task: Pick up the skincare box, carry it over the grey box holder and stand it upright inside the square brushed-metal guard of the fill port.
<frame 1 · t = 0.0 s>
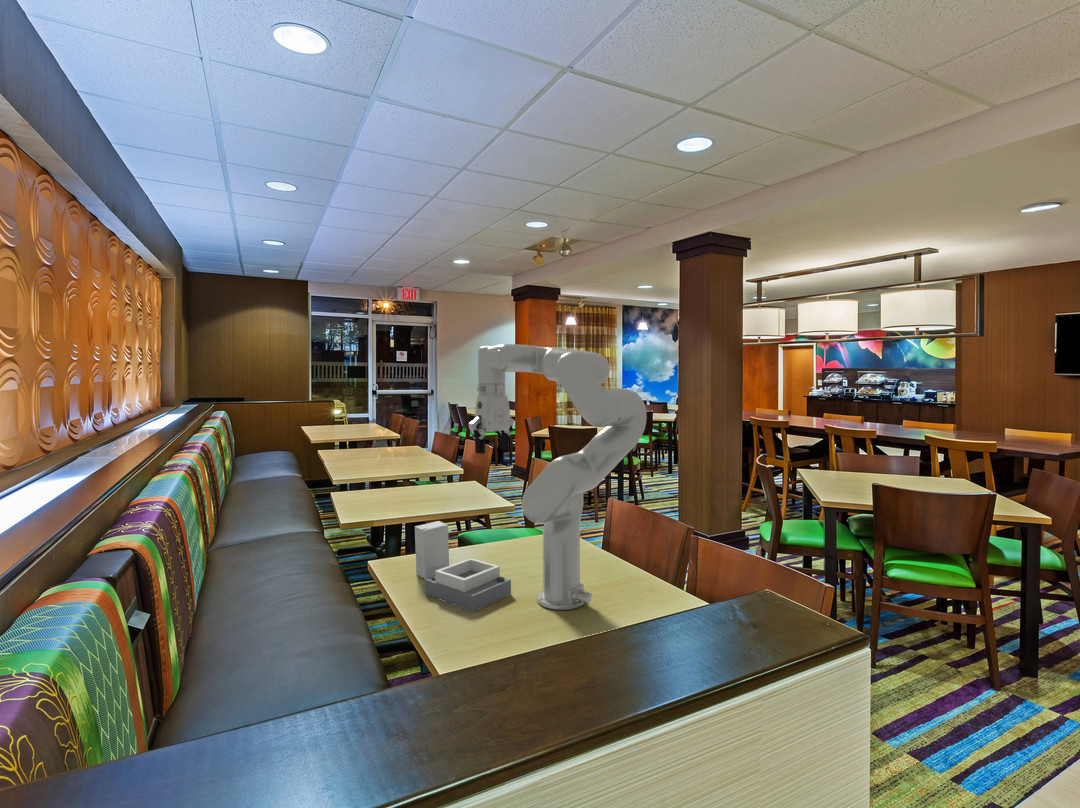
hand: (492, 451, 158), 37 cm above the table, tool pointing down, fingers open, 9 cm apart
grey box holder: (468, 594, 149), on the table
skincare box: (432, 575, 164), on the table
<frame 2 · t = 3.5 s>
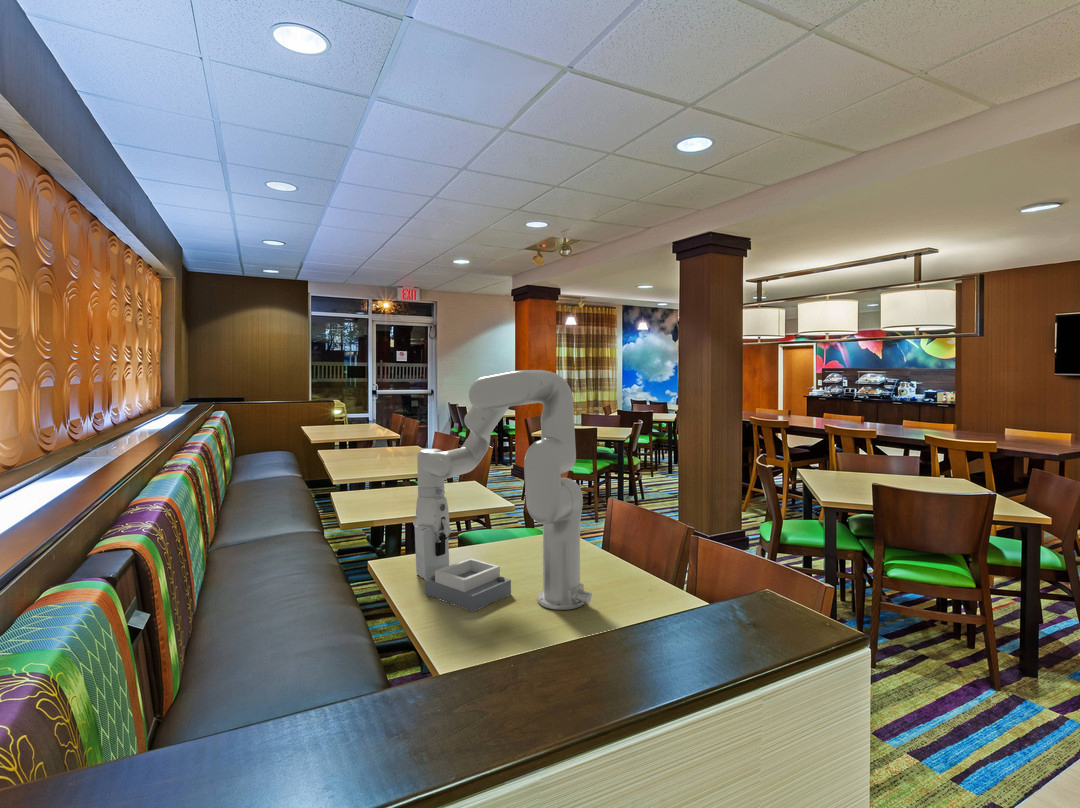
hand: (432, 552, 164), 7 cm above the table, tool pointing down, fingers closed on skincare box, 6 cm apart
skincare box: (432, 575, 164), on the table, touching gripper
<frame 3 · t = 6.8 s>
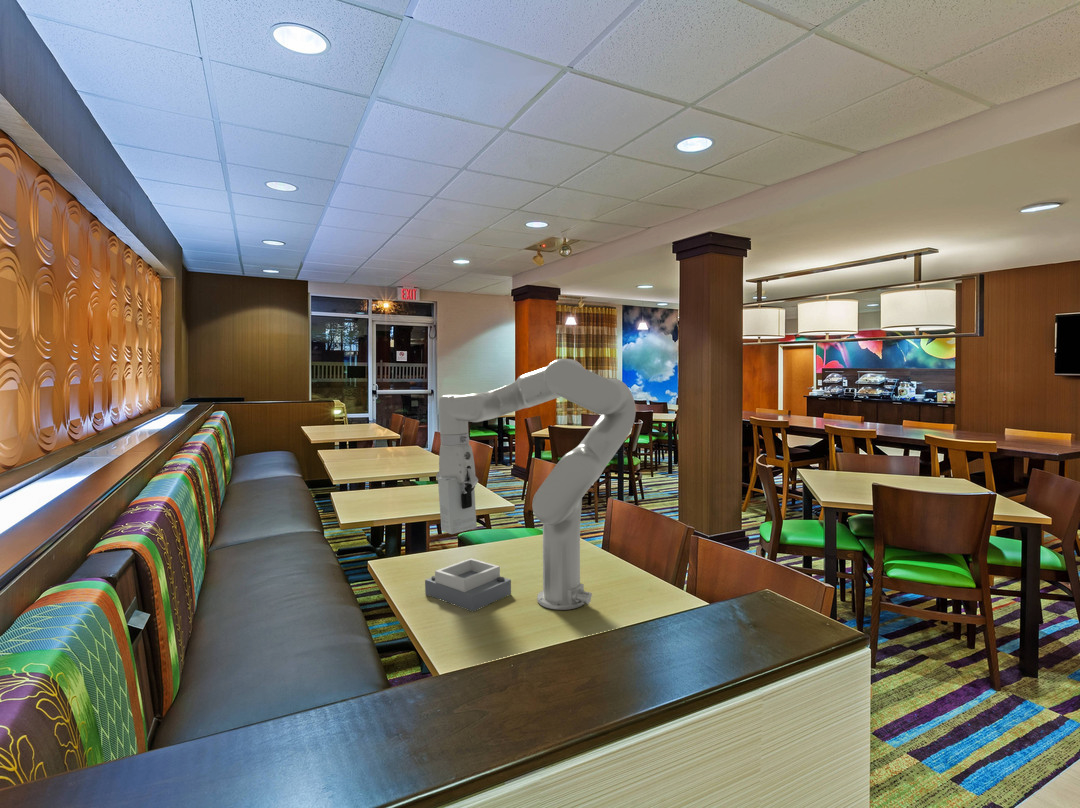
hand: (457, 505, 152), 23 cm above the table, tool pointing down, fingers closed on skincare box, 6 cm apart
skincare box: (458, 530, 153), point 16 cm above the table, touching gripper
when the fingers open (12 cm above the table, at t = 9.9 s): skincare box drops 1 cm, resting on grey box holder.
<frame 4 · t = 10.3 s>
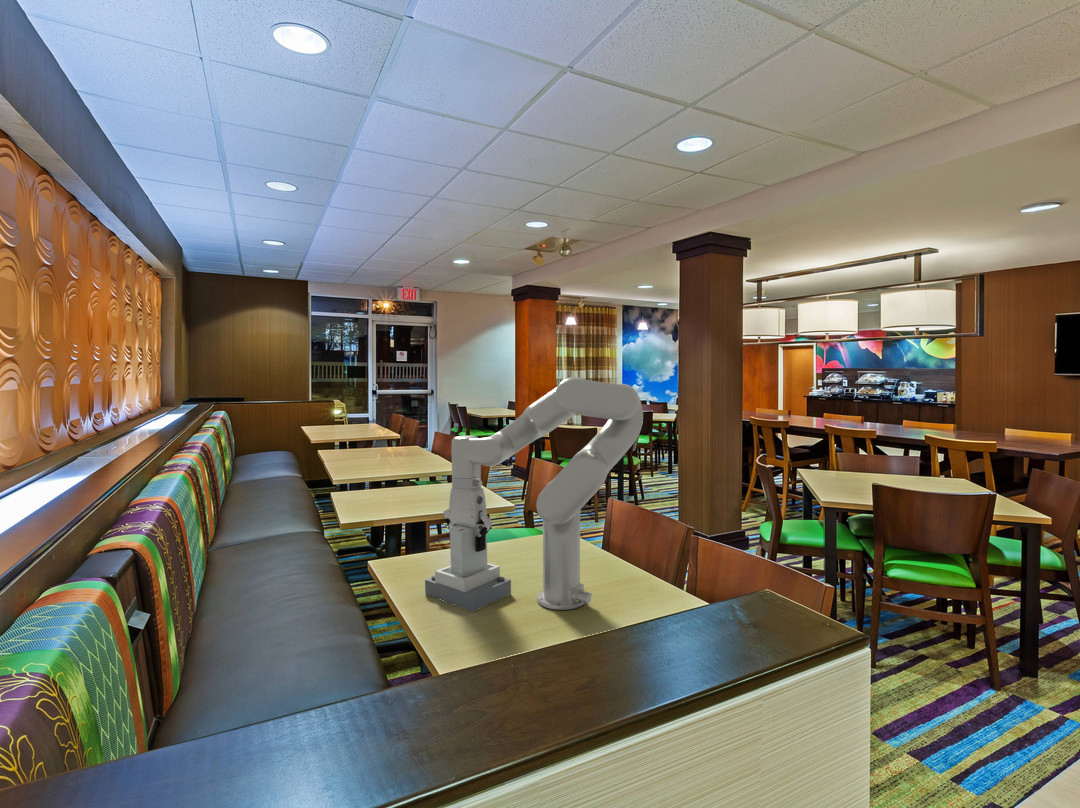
hand: (467, 547, 149), 13 cm above the table, tool pointing down, fingers open, 9 cm apart
skincare box: (469, 580, 149), point 4 cm above the table, touching grey box holder
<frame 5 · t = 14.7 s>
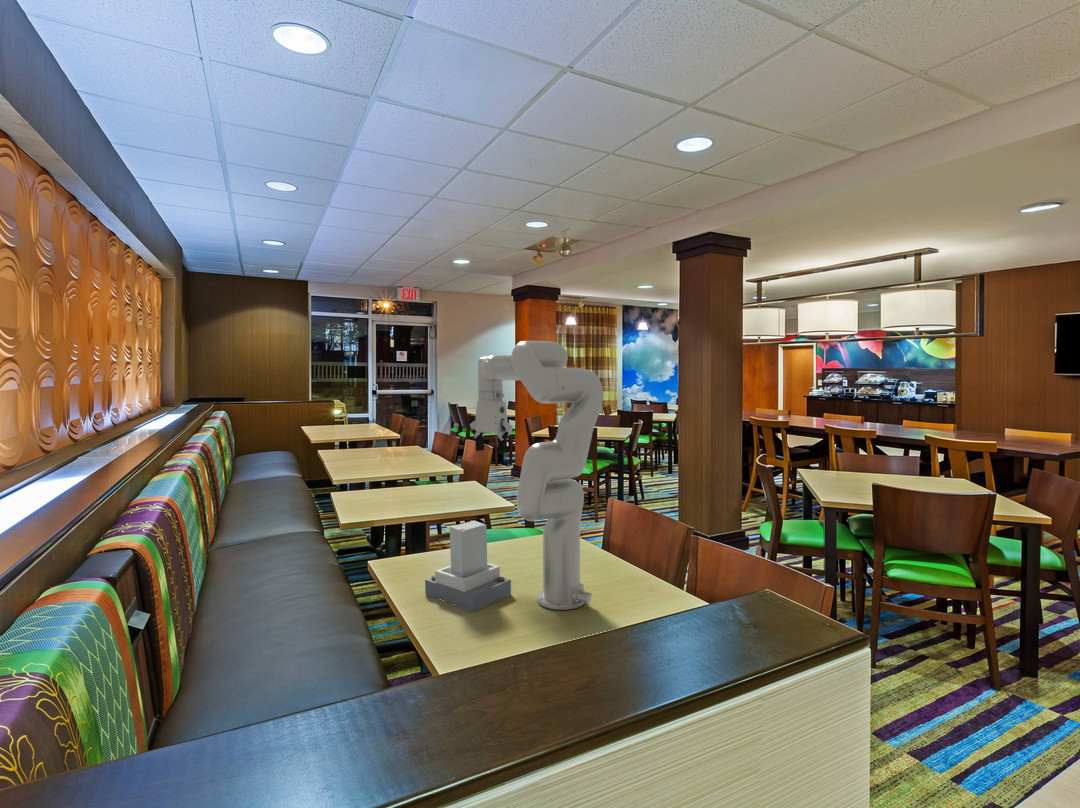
hand: (491, 451, 175), 34 cm above the table, tool pointing down, fingers open, 9 cm apart
nothing on the table moved.
at the end: skincare box 0.4 cm off-centre on the grey box holder, point 3.8 cm above the grey box holder's base; skincare box tilted 0°; the gripper is holding nothing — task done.
